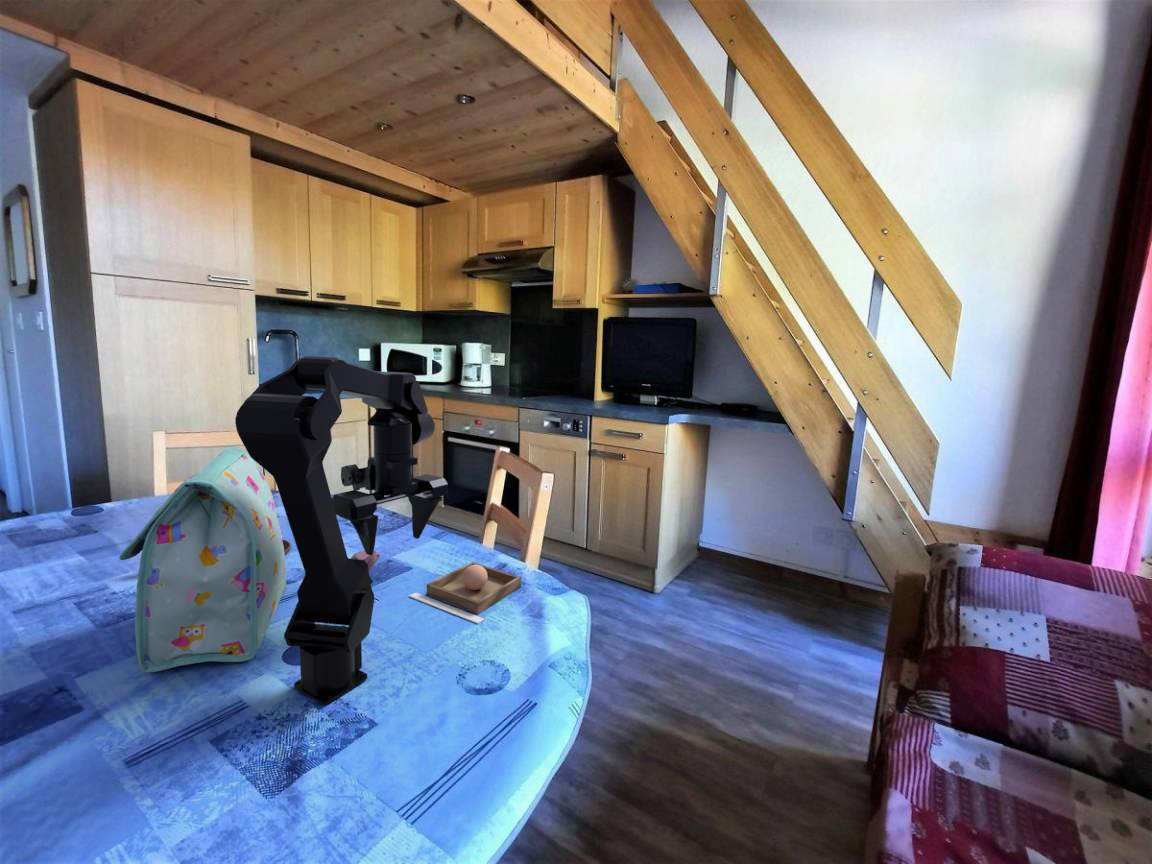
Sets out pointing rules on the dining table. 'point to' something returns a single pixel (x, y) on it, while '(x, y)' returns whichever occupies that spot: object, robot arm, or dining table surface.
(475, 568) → the ball
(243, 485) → the lunch bag
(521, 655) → the dining table surface
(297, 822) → the dining table surface
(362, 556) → the video game controller
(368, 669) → the dining table surface
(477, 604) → the tray
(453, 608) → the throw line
